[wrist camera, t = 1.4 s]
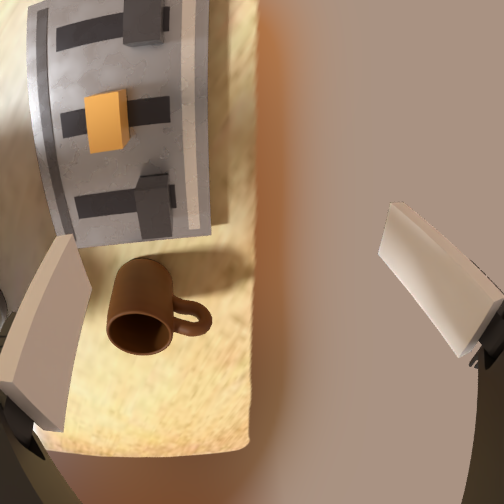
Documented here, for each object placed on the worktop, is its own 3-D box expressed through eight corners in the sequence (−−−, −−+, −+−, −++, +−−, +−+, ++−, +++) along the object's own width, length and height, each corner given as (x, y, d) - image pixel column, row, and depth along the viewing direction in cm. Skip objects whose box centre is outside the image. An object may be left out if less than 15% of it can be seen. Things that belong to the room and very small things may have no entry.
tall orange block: (100, 143, 25) (90, 153, 22) (95, 93, 22) (83, 97, 19) (129, 139, 26) (122, 148, 23) (126, 88, 23) (118, 91, 20)
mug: (209, 257, 38) (217, 311, 30) (204, 302, 42) (212, 356, 34) (113, 255, 35) (99, 308, 27) (119, 301, 39) (111, 355, 31)
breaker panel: (66, 241, 32) (51, 269, 27) (36, 9, 16) (10, 2, 12) (209, 226, 35) (215, 254, 31) (208, -23, 20) (214, -41, 15)
